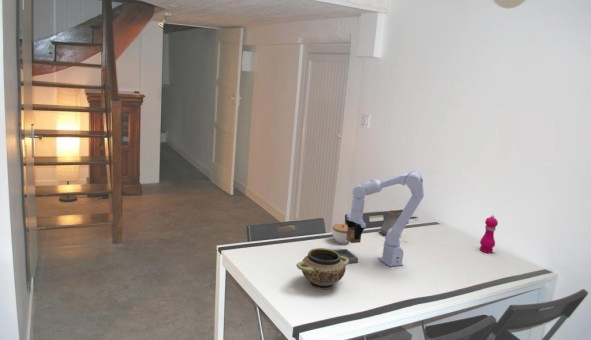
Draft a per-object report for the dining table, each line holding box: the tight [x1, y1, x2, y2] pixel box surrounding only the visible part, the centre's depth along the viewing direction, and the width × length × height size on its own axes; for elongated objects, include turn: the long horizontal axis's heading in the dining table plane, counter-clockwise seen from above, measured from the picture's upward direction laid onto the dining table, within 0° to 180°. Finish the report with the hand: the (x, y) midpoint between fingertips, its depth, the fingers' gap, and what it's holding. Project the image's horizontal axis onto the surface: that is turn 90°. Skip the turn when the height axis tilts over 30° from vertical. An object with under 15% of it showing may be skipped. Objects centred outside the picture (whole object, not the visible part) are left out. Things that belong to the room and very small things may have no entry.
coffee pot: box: [380, 210, 419, 236], centre depth 247 cm, size 21×12×15 cm, turn 39°
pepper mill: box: [479, 214, 498, 254], centre depth 238 cm, size 7×7×20 cm
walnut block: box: [346, 227, 363, 244], centre depth 218 cm, size 5×5×6 cm
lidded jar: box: [331, 223, 349, 245], centre depth 233 cm, size 11×11×9 cm
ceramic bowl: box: [296, 247, 349, 290], centre depth 183 cm, size 24×18×15 cm
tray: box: [332, 248, 359, 265], centre depth 212 cm, size 11×11×2 cm
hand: (353, 237), depth 218 cm, fingers closed on walnut block, 5 cm apart
